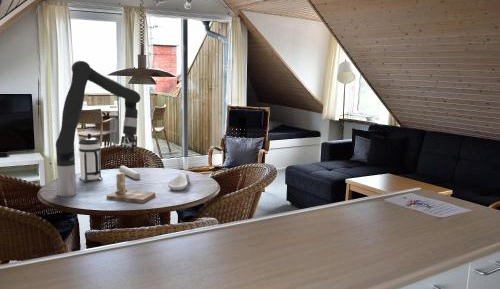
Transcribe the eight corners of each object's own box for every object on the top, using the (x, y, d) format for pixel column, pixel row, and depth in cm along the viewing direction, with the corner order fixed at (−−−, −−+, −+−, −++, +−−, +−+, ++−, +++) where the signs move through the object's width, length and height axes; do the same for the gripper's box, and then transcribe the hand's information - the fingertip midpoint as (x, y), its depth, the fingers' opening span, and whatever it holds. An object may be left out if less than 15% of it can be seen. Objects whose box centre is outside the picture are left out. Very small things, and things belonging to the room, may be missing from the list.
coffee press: (72, 182, 258) (70, 134, 253) (86, 176, 273) (85, 131, 268) (98, 184, 255) (96, 136, 250) (111, 178, 270) (109, 132, 265)
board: (106, 199, 227) (106, 195, 226) (120, 192, 240) (120, 188, 240) (142, 203, 221) (142, 199, 221) (155, 196, 235) (155, 192, 234)
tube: (142, 173, 270) (127, 166, 289) (135, 172, 266) (120, 164, 285) (140, 181, 270) (125, 173, 289) (133, 180, 266) (118, 172, 285)
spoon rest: (184, 192, 243) (184, 181, 242) (164, 191, 245) (164, 179, 243) (195, 182, 266) (195, 171, 265) (177, 181, 268) (177, 170, 267)
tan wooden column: (115, 193, 230) (114, 174, 229) (118, 191, 235) (117, 172, 234) (124, 193, 231) (123, 174, 229) (126, 191, 235) (126, 172, 234)
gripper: (118, 125, 242) (115, 153, 241) (130, 125, 232) (128, 153, 231) (129, 127, 247) (127, 154, 246) (142, 126, 237) (140, 154, 236)
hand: (127, 154), depth 238 cm, fingers open, 8 cm apart
